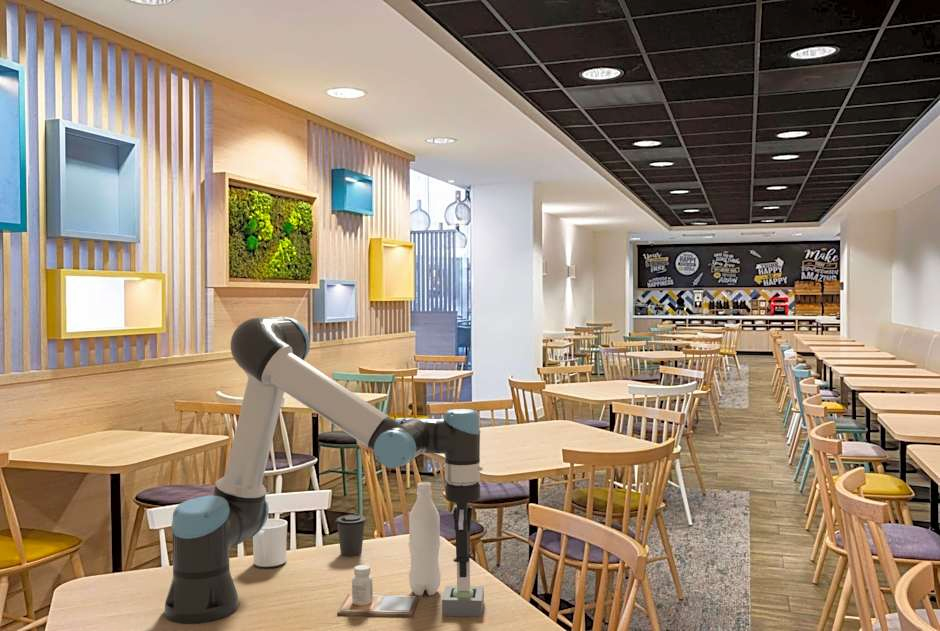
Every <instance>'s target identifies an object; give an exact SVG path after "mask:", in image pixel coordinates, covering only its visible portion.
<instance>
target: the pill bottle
mask: <svg viewBox="0 0 940 631" xmlns="http://www.w3.org/2000/svg"><path fill="white" fill-rule="evenodd" d="M353 572H354V573H353V574H354V575H353V577H352V580H351V592H352V593H351V595H352V602H353V604H355V605H360V606H364V605H368V604H370V603H372V600H373V595H374V594H373V577H372V576H371V575H370V574H371V566H370V565H368V564H359V565H356V566H354V570H353Z"/></svg>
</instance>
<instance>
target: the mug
mask: <svg viewBox="0 0 940 631" xmlns="http://www.w3.org/2000/svg"><path fill="white" fill-rule="evenodd" d="M287 532H288V521H287V520H285V519H281V518H267V521H266V523H265V525H264V526H263V528H262V529H261V530H260V531H259V532H258V533H257V534H256V535H254V536H253V537H252V547H253V548H252V550H253V555H252V557H253V566H254V567H256V568H257V569H262V570H268V569H270V570H271V569H276V568H280V567H283V566H284V565H286V563H287Z"/></svg>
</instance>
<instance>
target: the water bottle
mask: <svg viewBox="0 0 940 631" xmlns="http://www.w3.org/2000/svg"><path fill="white" fill-rule="evenodd" d="M431 487H432V484H431V482H427V481H421V482H418V483H417V490H416V491H417V492H416V493H415V494H416V495H417V496H416V501H415V503H414V505H413V507H412V509H411V511H410V514H409V517H408V523H409V524H408V525H409V527H408V529H409V530H408V532H409V533H408V534H409V536H408V540H409V541H408V548H409V553H410V569H409V573H408V577H409V578H408V581H409V582H408V583H409V587H410V589H411V591H412V592H413V593H414V594H415V596H418V597H422V596H423V595H424V592H425V591H426V593H427V594H428V596H432V595H435V594H436V593H437V591H438V589H439V588H440V586H441V571H440V567H439V566H440V565H439V553H440V547H441V541H440V540H441V539H440V538H441V536H440V535H441V534H440V533H441V532H440V530H441V529H440V524H441V523H440V522H441V517H440V514H439V510H438V508H437V507H436V505H435V503H434V502H433V499H432V494H433V492H432V488H431Z"/></svg>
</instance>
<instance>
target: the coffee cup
mask: <svg viewBox="0 0 940 631" xmlns="http://www.w3.org/2000/svg"><path fill="white" fill-rule="evenodd" d="M334 522H335V524H336V525H337V532H338V541H339V550H340V555H341V556H342V557H344V558H345V557H346V558H356V557H359V556H361V555H362V552H363V551H362V550H363V541H364V531H365V523H366V522H367V519H366V517H365V516H364V515H358V514H344V515H342V516H339V517H337V518H336V520H335V521H334Z"/></svg>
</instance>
